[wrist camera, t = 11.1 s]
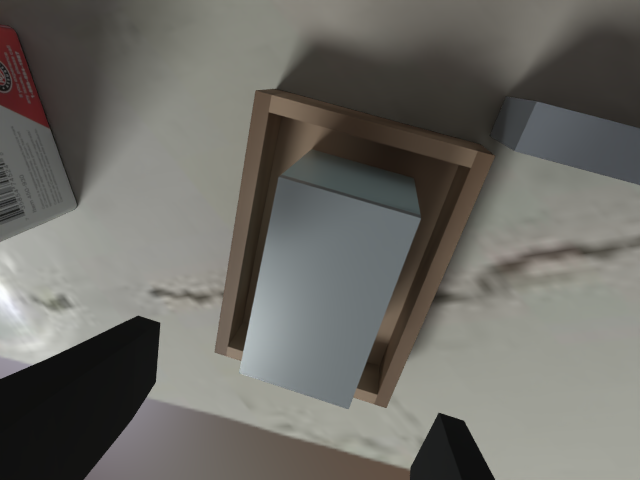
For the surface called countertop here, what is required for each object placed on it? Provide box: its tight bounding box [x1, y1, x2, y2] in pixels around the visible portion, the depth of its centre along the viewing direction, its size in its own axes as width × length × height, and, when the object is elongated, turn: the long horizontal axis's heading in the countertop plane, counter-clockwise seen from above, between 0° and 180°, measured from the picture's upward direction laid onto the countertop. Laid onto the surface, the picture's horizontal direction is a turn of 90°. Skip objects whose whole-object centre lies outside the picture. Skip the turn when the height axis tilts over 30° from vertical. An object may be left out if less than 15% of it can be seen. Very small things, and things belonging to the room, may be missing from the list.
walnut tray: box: [215, 89, 495, 408], centre depth 17 cm, size 9×12×2 cm
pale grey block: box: [239, 149, 421, 409], centre depth 15 cm, size 4×8×5 cm, turn 166°
